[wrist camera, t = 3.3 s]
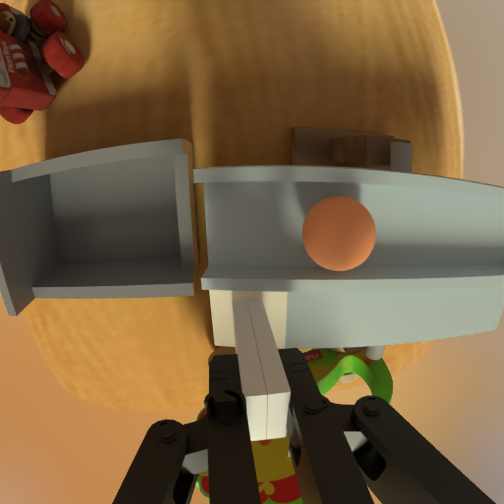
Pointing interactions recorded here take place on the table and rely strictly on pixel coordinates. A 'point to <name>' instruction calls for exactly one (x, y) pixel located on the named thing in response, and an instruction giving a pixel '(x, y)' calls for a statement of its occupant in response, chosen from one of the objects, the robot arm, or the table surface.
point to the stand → (341, 153)
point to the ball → (339, 233)
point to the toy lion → (276, 450)
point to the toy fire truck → (32, 59)
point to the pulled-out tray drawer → (100, 225)
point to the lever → (367, 273)
